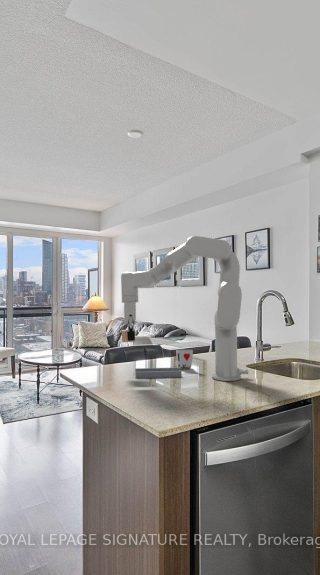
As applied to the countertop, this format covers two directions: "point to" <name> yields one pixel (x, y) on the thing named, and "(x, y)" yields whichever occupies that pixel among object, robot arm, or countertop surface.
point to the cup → (184, 359)
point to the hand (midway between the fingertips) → (131, 339)
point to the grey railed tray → (157, 372)
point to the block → (125, 336)
